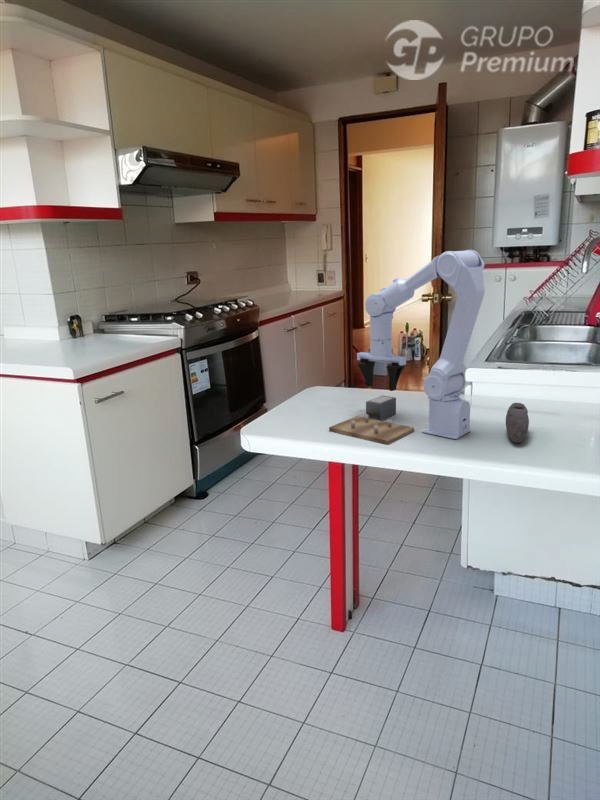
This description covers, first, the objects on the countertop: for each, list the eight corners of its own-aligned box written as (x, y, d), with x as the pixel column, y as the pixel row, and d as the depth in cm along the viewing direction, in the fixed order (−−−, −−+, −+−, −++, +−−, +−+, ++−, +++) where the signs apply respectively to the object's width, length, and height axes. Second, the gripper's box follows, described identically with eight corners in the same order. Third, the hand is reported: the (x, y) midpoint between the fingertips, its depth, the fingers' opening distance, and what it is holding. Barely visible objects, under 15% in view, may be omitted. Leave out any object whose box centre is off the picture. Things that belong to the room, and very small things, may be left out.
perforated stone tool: (527, 448, 127) (529, 419, 126) (503, 446, 129) (504, 418, 128) (528, 428, 141) (529, 402, 139) (505, 427, 143) (507, 400, 141)
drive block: (396, 414, 157) (396, 397, 156) (379, 422, 151) (379, 404, 150) (382, 412, 160) (382, 395, 159) (366, 419, 154) (365, 401, 153)
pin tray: (414, 431, 142) (414, 420, 142) (387, 444, 134) (387, 432, 133) (356, 419, 154) (356, 409, 153) (329, 431, 146) (328, 419, 145)
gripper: (412, 338, 148) (411, 388, 152) (367, 334, 158) (367, 381, 161) (397, 342, 143) (397, 394, 147) (352, 338, 153) (352, 387, 156)
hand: (380, 388), depth 154 cm, fingers open, 7 cm apart
